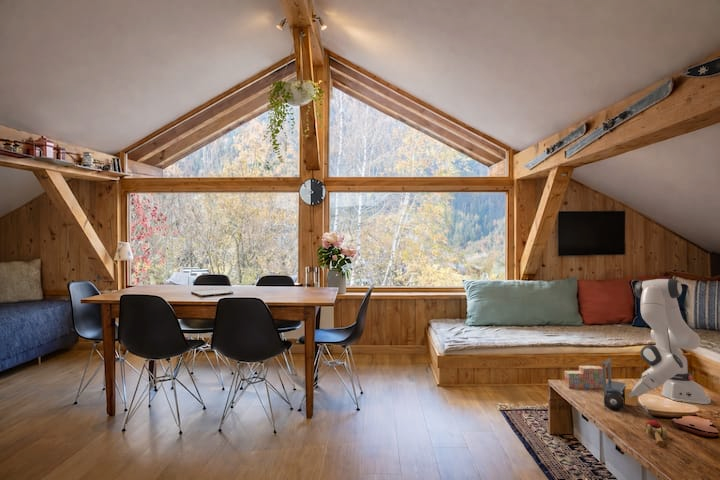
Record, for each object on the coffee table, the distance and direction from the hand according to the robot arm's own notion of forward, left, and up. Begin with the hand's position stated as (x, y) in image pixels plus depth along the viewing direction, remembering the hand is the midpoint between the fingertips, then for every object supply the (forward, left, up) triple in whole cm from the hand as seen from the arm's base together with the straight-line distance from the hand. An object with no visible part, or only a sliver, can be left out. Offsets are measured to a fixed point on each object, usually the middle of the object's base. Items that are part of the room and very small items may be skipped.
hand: (630, 394), depth 229 cm
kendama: (-14, +27, -10) cm, 32 cm away
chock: (-1, 0, -5) cm, 5 cm away
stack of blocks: (+29, -32, -10) cm, 44 cm away
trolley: (+8, -9, -9) cm, 15 cm away
